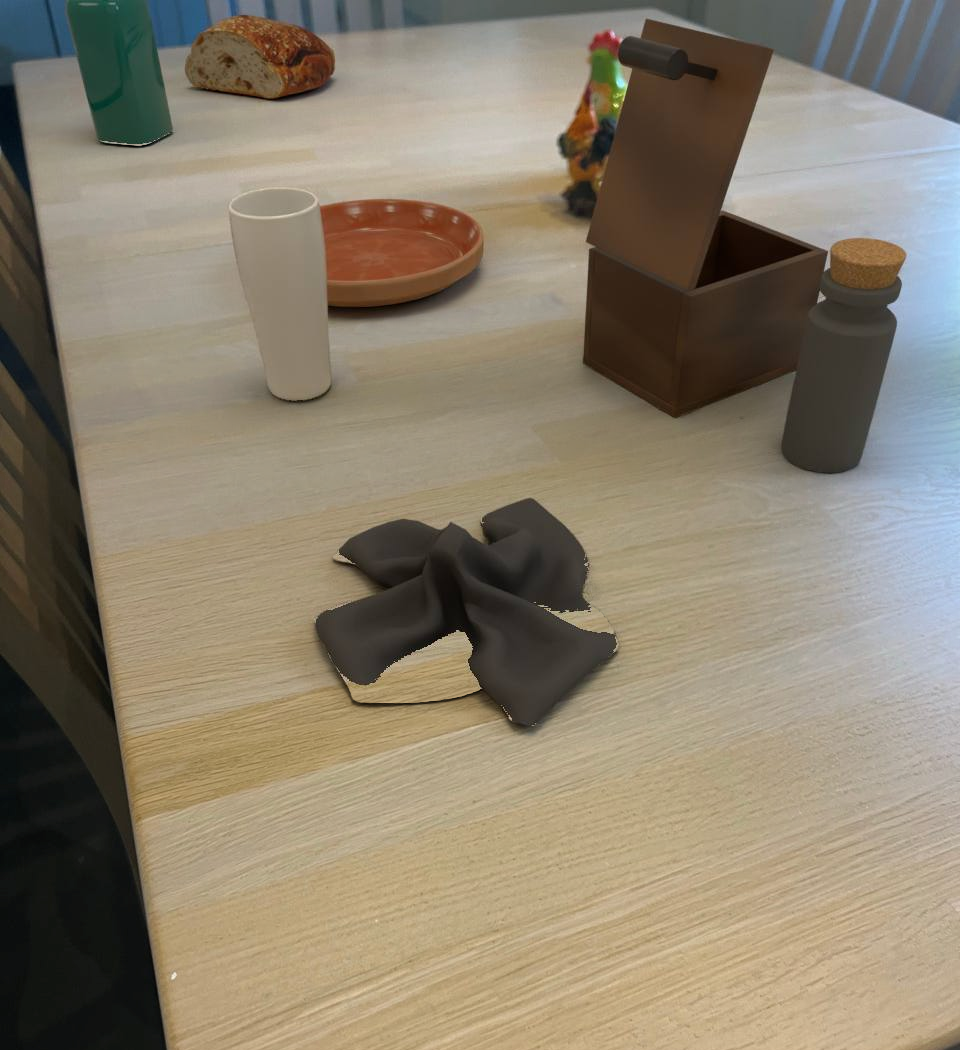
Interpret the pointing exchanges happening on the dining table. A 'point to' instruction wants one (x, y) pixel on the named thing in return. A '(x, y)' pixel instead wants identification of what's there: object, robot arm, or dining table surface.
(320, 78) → the bread
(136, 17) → the pitcher
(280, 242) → the drinking glass
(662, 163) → the box lid
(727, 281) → the wooden box
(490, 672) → the cloth
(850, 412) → the bottle
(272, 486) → the dining table surface
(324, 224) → the saucer
